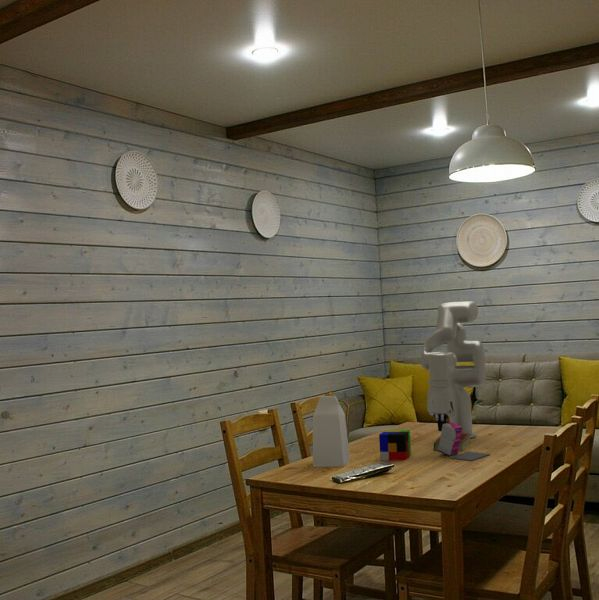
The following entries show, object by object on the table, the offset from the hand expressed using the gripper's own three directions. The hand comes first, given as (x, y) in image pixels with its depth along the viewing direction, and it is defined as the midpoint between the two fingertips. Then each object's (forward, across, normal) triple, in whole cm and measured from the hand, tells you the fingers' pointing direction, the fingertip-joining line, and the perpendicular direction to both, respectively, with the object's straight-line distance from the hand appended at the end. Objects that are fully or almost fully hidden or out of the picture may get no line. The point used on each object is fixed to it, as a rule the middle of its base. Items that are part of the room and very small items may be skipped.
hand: (442, 430), depth 293 cm
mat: (+9, +12, 0) cm, 15 cm away
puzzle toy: (+10, -12, -15) cm, 22 cm away
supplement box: (+9, +2, 0) cm, 9 cm away
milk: (+10, -27, -36) cm, 46 cm away
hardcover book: (+10, -7, +16) cm, 20 cm away
